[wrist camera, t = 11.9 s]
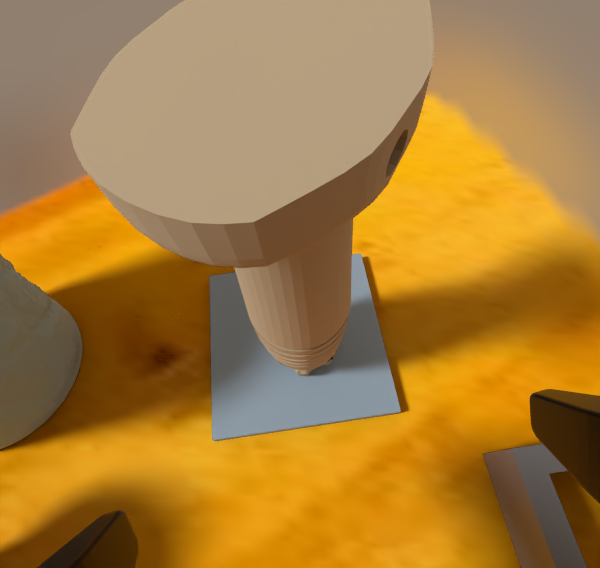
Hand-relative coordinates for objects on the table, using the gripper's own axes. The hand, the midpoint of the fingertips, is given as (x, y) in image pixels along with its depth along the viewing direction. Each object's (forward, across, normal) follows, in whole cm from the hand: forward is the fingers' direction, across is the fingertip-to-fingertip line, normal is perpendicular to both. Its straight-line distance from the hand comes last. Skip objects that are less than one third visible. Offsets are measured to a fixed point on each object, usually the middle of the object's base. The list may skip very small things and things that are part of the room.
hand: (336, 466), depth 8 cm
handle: (+11, 0, -3) cm, 12 cm away
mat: (+12, 0, -2) cm, 12 cm away
